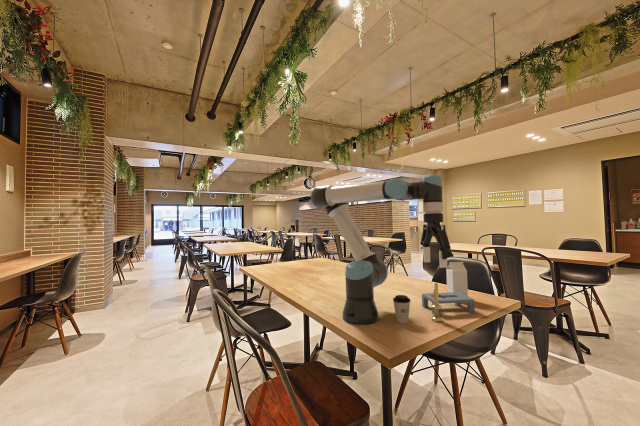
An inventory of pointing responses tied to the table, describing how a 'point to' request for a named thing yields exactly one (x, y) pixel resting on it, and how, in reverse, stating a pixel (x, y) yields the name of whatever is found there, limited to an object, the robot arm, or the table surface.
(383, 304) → the table surface
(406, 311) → the coffee cup
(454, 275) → the milk carton
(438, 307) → the brass t bolt
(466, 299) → the keyhole plate
